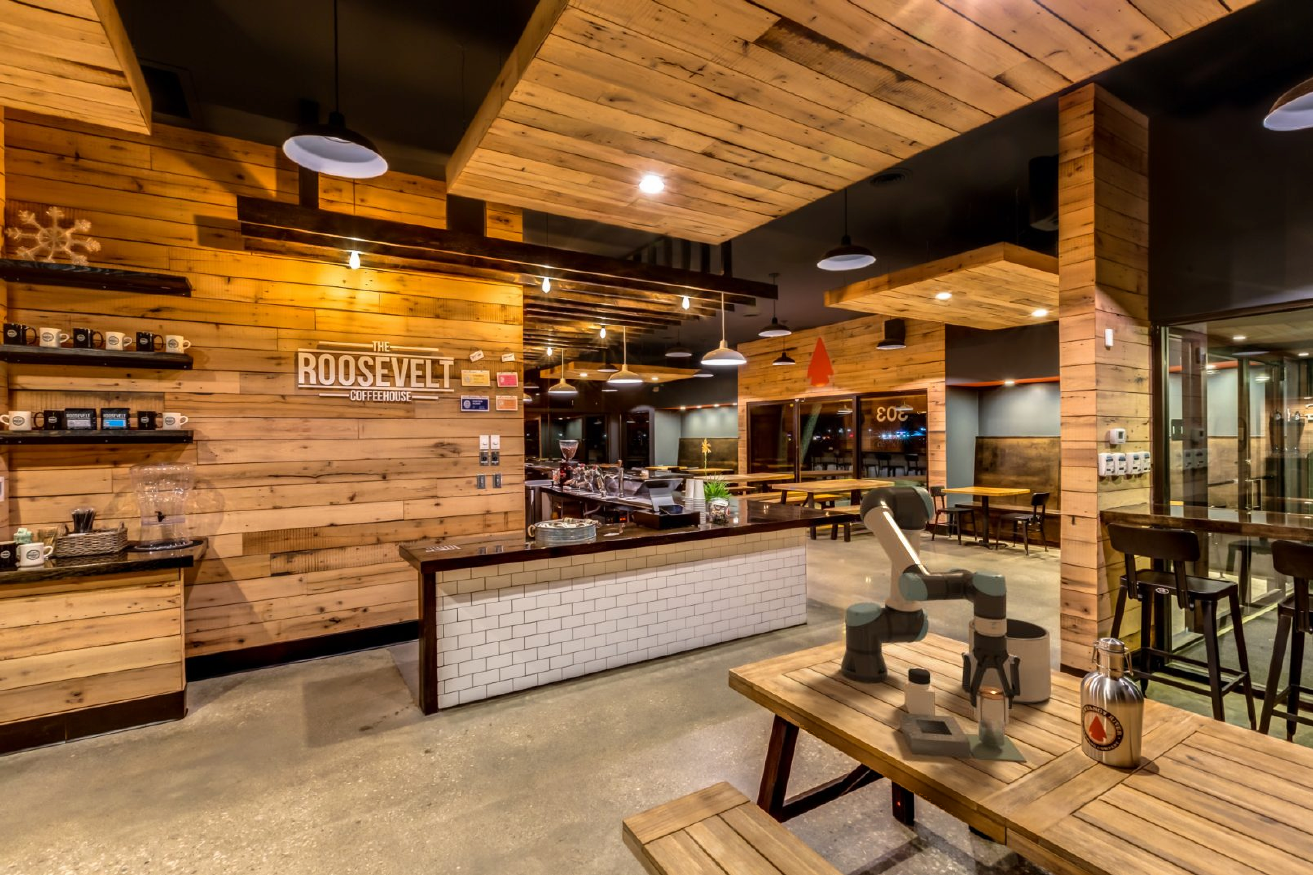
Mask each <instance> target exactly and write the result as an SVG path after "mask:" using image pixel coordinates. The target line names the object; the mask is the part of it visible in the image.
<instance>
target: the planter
mask: <svg viewBox="0 0 1313 875" xmlns="http://www.w3.org/2000/svg"><path fill="white" fill-rule="evenodd" d="M1006 630H1007V632H1006V633H1005V635H1006V636H1007V652H1008V654H1010V655H1016V656H1017V657H1018V658H1019V659H1020V663H1019V667H1018V669H1019V681H1020V692H1021V694H1020V696H1017V695H1016V696H1014V699H1012V704H1013V703H1014V704H1023V705H1028V704H1029V705H1032V704H1038V703H1041V702H1044V701H1046V700H1049V698H1050V697H1051V696H1052V675H1051V674H1052V670H1051V642H1050V641H1051V639H1050V638H1051V636H1050V632H1049V631H1048V629H1046V628H1045V627H1043V626H1041V625H1038V624H1035V623H1032V622H1029V621H1025V620H1020V619H1015V618H1009V617H1006ZM974 631H975V629H974V618H973V619H971V620H970V621H969V622H968V653H970V652H972V651H973V649H974ZM977 662H978V661H977V660H976V658H975V657H973V661H972V662H971V679H970V684H971V682H972V680H973V677H974V674H975V671H976V665H977ZM1003 667H1004V670H1005V674H1006V677H1007V680H1008V683H1009V685H1010V688H1011V689H1012V686H1011V675H1010V662H1009V661H1008V659H1007V660H1006V662H1005V663H1004V664H1003ZM982 686H989V687H994V688H998V689H1000V690H1002V691H1003V692H1004V689H1003V687H1002V684H1001V681H1000V678H999V675H998V672H997V670H996V669H994V668H990V669H987V670H986V672H985V673H984V676H983V679H982V682H981V685H980V687H982ZM1004 694H1005V692H1004Z"/></svg>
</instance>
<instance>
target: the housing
mask: <svg viewBox="0 0 1313 875" xmlns="http://www.w3.org/2000/svg"><path fill="white" fill-rule="evenodd" d="M899 728H900V730H901V732H902V734H903V737H904V739H905V741H906V743H907V745H908V748H909V749H910V752H911V754H912V755H923V756H925V755H926V756H937V757H947V758H948V757H951V758H961V759H962V758H965V759H971V757H972V756H971V754H972V753H971V752H970V741H969V740H968V738H967V737H966V735H965V734H966V733H965V732H964V731H963V729H962V728H961V726H960V724H959V723H958V721H957V720H956V718H955V717H954V716H951V715H950V716H948V715H936V714H935V715H920V714H910V713H905V712H904V713H903V712H902V713H901V712H900V713H899Z"/></svg>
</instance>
